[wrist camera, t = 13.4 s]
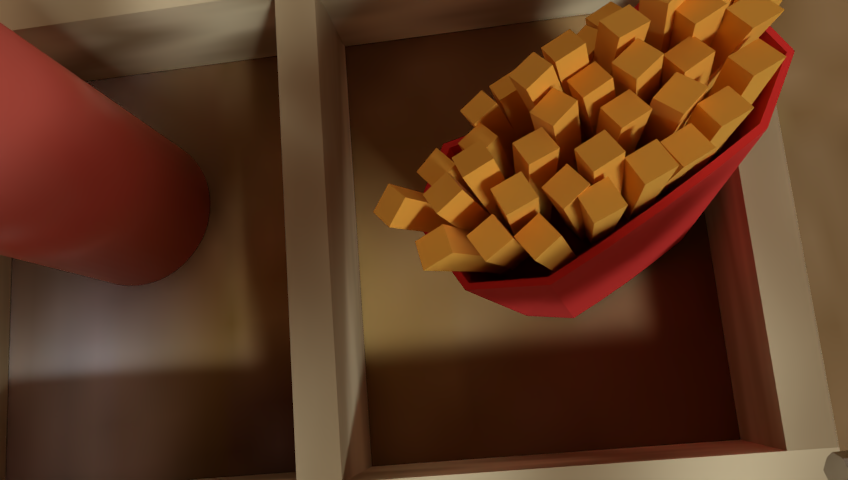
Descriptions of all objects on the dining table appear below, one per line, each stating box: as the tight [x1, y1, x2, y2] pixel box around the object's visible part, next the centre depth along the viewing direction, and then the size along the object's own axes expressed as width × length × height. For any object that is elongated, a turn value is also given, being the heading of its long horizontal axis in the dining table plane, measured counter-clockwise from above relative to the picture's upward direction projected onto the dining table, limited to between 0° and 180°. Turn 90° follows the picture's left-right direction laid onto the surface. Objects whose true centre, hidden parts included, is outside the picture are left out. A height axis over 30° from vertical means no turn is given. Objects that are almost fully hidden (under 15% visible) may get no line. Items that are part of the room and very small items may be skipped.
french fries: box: [373, 0, 794, 318], centre depth 18 cm, size 8×4×12 cm, turn 126°
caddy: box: [0, 0, 840, 480], centre depth 23 cm, size 26×16×4 cm, turn 95°
